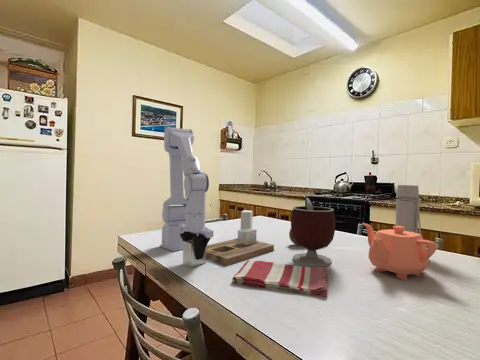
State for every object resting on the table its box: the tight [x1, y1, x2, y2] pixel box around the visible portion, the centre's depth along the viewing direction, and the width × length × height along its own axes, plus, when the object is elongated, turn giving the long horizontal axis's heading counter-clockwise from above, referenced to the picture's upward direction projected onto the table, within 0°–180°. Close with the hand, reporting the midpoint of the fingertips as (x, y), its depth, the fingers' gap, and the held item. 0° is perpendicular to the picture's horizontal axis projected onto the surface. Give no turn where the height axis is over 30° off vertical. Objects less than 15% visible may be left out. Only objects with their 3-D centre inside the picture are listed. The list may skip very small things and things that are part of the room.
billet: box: [182, 239, 208, 268], centre depth 81 cm, size 4×6×7 cm, turn 137°
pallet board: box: [207, 237, 275, 266], centre depth 94 cm, size 16×24×2 cm, turn 137°
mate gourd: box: [290, 197, 336, 268], centre depth 87 cm, size 16×14×20 cm
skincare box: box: [240, 209, 254, 230], centre depth 115 cm, size 6×4×12 cm
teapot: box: [361, 222, 438, 281], centre depth 78 cm, size 16×17×14 cm
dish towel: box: [231, 259, 329, 298], centre depth 71 cm, size 17×23×3 cm
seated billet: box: [237, 228, 258, 247], centre depth 99 cm, size 4×6×7 cm, turn 137°
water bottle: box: [395, 184, 422, 235], centre depth 98 cm, size 9×8×25 cm
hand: (194, 257), depth 81 cm, fingers closed on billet, 4 cm apart
